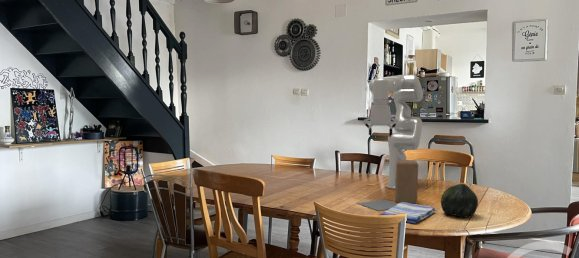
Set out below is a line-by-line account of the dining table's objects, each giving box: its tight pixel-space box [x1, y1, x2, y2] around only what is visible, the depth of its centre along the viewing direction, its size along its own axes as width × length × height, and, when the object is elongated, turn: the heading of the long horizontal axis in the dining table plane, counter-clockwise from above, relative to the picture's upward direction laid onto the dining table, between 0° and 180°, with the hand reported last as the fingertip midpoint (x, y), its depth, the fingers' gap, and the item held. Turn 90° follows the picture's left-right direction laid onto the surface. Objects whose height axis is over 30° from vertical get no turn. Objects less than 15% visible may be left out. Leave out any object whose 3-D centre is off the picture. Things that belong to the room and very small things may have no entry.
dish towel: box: [378, 202, 437, 225], centre depth 186 cm, size 17×24×3 cm
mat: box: [356, 199, 399, 212], centre depth 205 cm, size 17×16×1 cm
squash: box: [440, 183, 479, 218], centre depth 186 cm, size 14×15×15 cm
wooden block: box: [394, 159, 419, 205], centre depth 211 cm, size 10×10×20 cm
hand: (380, 136), depth 220 cm, fingers open, 9 cm apart
